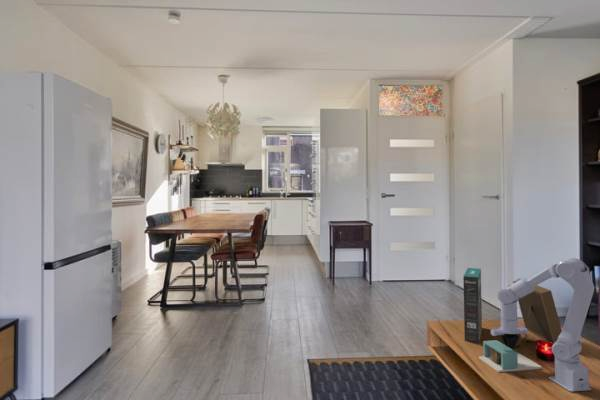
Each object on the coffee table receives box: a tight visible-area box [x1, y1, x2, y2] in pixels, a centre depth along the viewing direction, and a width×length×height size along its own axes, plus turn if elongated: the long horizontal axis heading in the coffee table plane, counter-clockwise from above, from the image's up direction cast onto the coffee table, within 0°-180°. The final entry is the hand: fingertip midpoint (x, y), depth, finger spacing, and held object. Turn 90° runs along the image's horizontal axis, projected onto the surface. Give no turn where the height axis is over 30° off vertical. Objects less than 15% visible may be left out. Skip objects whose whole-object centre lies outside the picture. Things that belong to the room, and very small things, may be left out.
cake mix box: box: [463, 267, 483, 344], centre depth 174 cm, size 22×6×30 cm, turn 150°
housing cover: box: [482, 339, 518, 369], centre depth 142 cm, size 12×6×6 cm, turn 6°
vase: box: [514, 334, 522, 348], centre depth 160 cm, size 7×7×9 cm
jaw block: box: [490, 348, 501, 364], centre depth 142 cm, size 4×4×5 cm
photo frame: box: [512, 280, 563, 343], centre depth 168 cm, size 15×22×25 cm
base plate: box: [478, 352, 543, 373], centre depth 143 cm, size 12×18×4 cm, turn 97°
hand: (509, 352), depth 143 cm, fingers closed
